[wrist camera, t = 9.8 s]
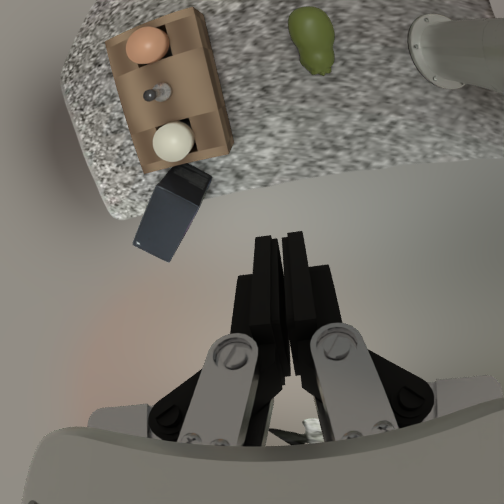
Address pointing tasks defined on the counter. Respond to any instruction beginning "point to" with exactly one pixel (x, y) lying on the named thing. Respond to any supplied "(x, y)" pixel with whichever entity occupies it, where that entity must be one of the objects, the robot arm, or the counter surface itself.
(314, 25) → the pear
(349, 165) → the counter surface
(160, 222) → the small box
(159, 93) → the pot stem
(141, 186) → the counter surface
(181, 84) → the wooden condiment caddy
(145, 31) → the knob terracotta
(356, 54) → the counter surface
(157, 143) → the knob cream
